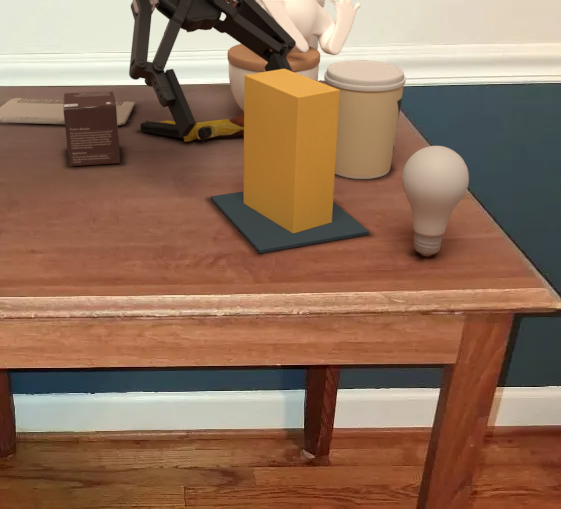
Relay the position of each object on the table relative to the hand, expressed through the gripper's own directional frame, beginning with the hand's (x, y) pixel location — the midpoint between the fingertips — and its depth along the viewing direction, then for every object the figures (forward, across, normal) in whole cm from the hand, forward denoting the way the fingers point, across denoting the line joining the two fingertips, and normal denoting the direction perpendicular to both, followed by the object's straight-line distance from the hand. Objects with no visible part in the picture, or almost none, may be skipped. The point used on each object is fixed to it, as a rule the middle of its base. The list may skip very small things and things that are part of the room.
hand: (243, 120), depth 91 cm
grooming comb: (-24, +3, -33) cm, 41 cm away
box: (-7, +10, -19) cm, 22 cm away
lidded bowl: (-8, -18, -20) cm, 28 cm away
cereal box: (+11, 0, 0) cm, 11 cm away
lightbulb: (+22, -6, +10) cm, 25 cm away
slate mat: (+12, 0, 0) cm, 12 cm away
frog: (-13, -19, -15) cm, 28 cm away
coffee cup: (+7, -16, -5) cm, 18 cm away
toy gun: (-10, -12, -20) cm, 25 cm away
